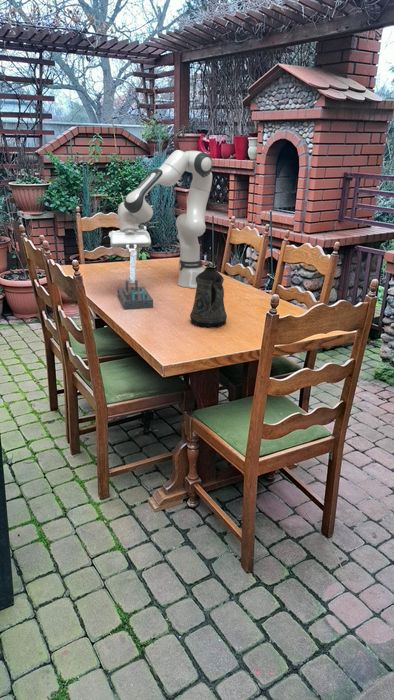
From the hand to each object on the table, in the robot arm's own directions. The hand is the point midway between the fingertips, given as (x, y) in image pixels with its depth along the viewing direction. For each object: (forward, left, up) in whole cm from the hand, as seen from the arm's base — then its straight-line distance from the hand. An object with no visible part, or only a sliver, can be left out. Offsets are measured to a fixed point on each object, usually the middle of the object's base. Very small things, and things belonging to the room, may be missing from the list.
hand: (132, 253), depth 257 cm
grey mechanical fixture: (0, +4, -24) cm, 24 cm away
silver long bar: (0, 0, -8) cm, 8 cm away
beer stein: (-28, +45, -24) cm, 58 cm away
